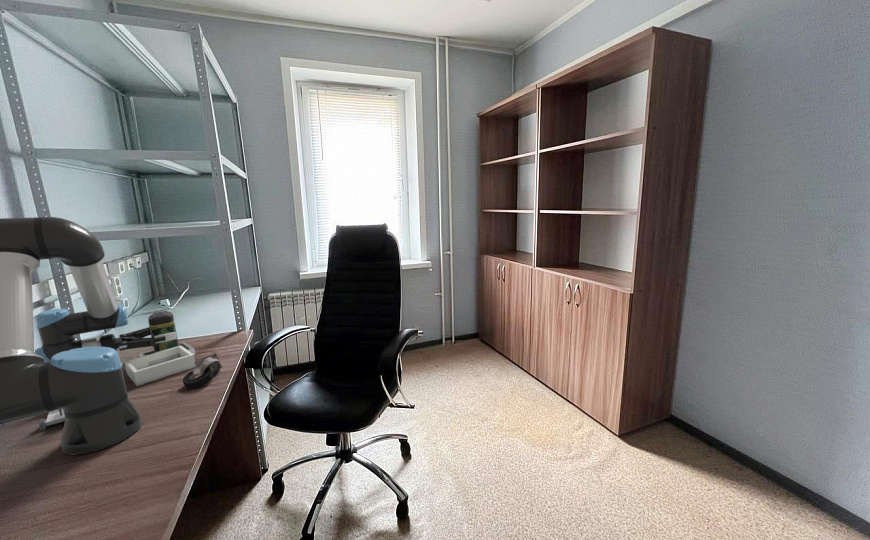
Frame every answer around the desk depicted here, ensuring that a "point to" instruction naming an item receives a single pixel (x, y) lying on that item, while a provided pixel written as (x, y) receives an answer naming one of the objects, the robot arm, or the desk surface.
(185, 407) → the desk surface
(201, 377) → the caster wheel
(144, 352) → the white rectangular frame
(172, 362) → the tray
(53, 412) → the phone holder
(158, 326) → the coffee jar
